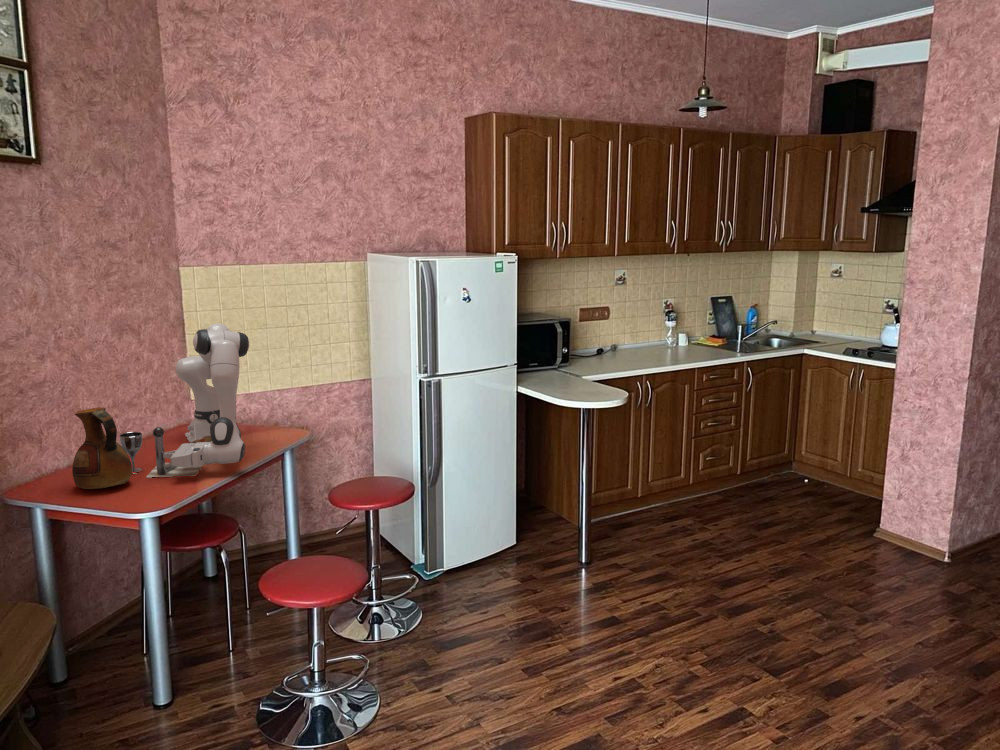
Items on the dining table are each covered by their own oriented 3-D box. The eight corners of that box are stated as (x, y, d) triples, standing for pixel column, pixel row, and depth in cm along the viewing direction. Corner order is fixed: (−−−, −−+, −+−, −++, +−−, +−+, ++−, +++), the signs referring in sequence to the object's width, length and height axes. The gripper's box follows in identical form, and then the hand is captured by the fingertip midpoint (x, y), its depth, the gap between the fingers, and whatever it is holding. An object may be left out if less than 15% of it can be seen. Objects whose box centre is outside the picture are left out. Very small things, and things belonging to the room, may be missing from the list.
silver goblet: (148, 470, 306) (146, 433, 303) (129, 475, 299) (126, 438, 296) (137, 466, 310) (134, 430, 307) (118, 471, 304) (115, 434, 301)
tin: (195, 462, 317) (194, 442, 315) (188, 462, 317) (187, 442, 316) (215, 452, 331) (214, 433, 330) (209, 452, 332) (208, 433, 330)
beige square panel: (159, 464, 313) (158, 462, 313) (205, 462, 316) (205, 461, 316) (146, 478, 296) (145, 476, 296) (195, 476, 298) (194, 474, 298)
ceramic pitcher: (106, 475, 299) (99, 400, 293) (145, 482, 291) (139, 405, 286) (61, 490, 281) (53, 411, 275) (102, 498, 273) (95, 416, 268)
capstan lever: (177, 460, 316) (174, 416, 312) (191, 461, 315) (188, 417, 312) (151, 474, 297) (147, 428, 294) (165, 475, 296) (162, 428, 293)
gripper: (206, 438, 309) (169, 440, 307) (195, 452, 289) (156, 454, 287) (207, 453, 310) (170, 455, 308) (196, 468, 290) (157, 470, 288)
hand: (163, 455), depth 297 cm, fingers closed
